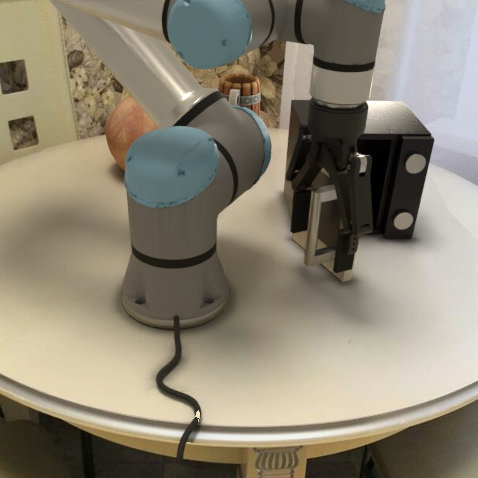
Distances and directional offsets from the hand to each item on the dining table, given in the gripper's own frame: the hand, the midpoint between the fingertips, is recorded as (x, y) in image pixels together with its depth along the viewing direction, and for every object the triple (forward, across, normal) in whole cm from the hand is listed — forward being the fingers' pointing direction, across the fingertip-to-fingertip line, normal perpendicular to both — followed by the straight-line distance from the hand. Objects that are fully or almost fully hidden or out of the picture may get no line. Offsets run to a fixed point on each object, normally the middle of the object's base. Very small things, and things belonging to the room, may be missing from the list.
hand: (319, 249), depth 90 cm
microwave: (+6, +17, -16) cm, 24 cm away
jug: (+6, +49, +8) cm, 50 cm away
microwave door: (+6, +6, -2) cm, 9 cm away
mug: (+6, +51, -11) cm, 52 cm away
